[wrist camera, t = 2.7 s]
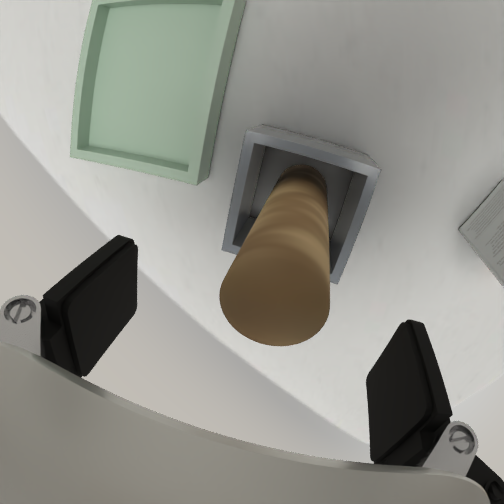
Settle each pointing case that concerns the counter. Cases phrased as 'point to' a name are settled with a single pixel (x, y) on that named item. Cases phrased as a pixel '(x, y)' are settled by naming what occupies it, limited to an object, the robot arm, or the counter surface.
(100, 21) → the tray
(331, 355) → the counter surface
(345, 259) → the open box
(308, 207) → the dowel
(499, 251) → the skincare box
